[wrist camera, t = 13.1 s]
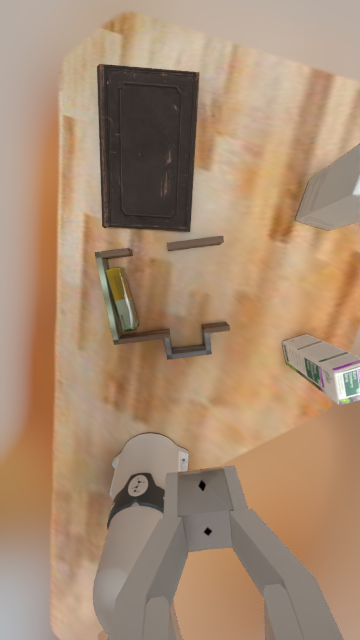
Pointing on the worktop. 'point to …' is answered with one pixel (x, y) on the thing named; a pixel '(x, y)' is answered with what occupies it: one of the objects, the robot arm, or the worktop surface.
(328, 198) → the supplement box
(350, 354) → the syrup box
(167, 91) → the hardcover book
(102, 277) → the trap corral
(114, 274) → the medication box
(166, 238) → the worktop surface
